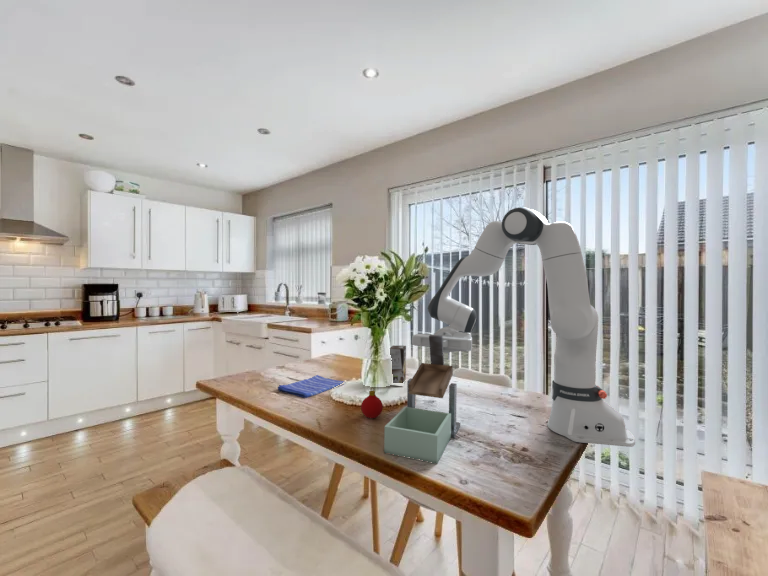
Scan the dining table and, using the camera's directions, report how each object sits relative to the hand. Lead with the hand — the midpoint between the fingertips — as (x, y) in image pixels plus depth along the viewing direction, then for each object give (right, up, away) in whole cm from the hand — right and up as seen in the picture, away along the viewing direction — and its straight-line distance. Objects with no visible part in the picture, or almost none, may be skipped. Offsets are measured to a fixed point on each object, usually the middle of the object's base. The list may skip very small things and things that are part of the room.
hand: (436, 344), depth 113 cm
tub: (-7, -25, -17) cm, 31 cm away
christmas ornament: (-21, -25, +3) cm, 32 cm away
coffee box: (-11, -24, +42) cm, 49 cm away
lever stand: (-2, -25, -5) cm, 25 cm away
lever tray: (-2, -11, -5) cm, 12 cm away
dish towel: (-47, -24, +35) cm, 64 cm away
